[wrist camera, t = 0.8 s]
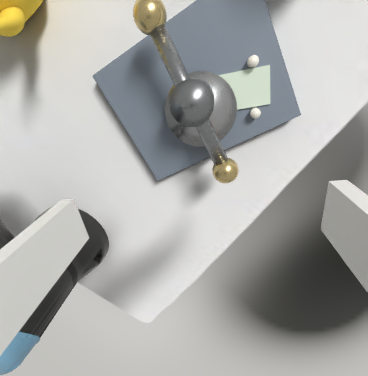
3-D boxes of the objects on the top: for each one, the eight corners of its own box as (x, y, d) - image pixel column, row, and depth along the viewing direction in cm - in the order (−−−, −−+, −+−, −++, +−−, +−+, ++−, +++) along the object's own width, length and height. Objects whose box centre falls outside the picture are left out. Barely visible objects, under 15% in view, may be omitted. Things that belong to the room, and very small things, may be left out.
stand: (160, 175, 37) (155, 184, 34) (99, 75, 31) (87, 76, 28) (296, 112, 30) (304, 116, 27) (249, -32, 24) (254, -46, 21)
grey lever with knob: (122, 34, 26) (97, 22, 21) (188, -17, 24) (179, -45, 18) (201, 179, 34) (198, 199, 28) (258, 154, 31) (268, 172, 25)
